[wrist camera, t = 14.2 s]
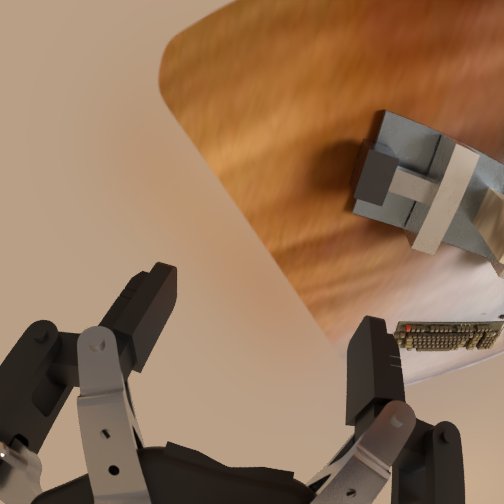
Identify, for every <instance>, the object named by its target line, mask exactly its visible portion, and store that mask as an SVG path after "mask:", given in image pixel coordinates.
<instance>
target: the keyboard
mask: <svg viewBox="0 0 504 504" xmlns="http://www.w3.org/2000/svg"><path fill="white" fill-rule="evenodd" d="M500 318H501V319H503V318H504V315H501V317H500ZM503 328H504V321H493V322H399V323H398V326H397V328H396V331H395V334H394V338H395V340H396V342H397V343H398V345H399V348H400V347H401V348H407V350H408V351H411V349H412V348H416V351H449V350H458V347H466V349H467V350H473V349H474V347H475V346H476V347H477V348H478V350H479V349H484V348H485V349H487V348H488V349H490V348H492V346H493V344H494V343H495V341H496V339H497V338H498V337H499V336H500V333H501V331H502V329H503Z"/></svg>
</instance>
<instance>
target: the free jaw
mask: <svg viewBox="0 0 504 504" xmlns="http://www.w3.org/2000/svg"><path fill="white" fill-rule="evenodd" d="M479 156H480V155H479V154H477V153H476V152H475V151H473V150H472V149H470V148H469V147H468V146H466V145H465V144H463V143H461V142H459V141H457V140H455V139H452V138H450V137H448V136H446V135H444V134H442V136H441V139H440V142H439V145H438V148H437V151H436V153H435V156H434V159H433V162H432V164H431V167H430V169H429V172H428V175H427V176H424V175H422V174H419V173H416V172H414V171H411V170H408V169H406V168H403V167H400V166H398V163H399V160H400V159H399V158H398V157H397V155H396V154H395V153H394V151H393V150H392V149H391V148H390V147H387V146H384V145H382V144H379V143H376V142H373V141H370V140H367V139H364V138H363V141H362V145H361V148H360V151H359V154H358V157H357V161H356V164H355V167H354V170H353V173H352V176H351V179H350V186H351V191H352V195H353V198H355V199H359V200H362V201H365V202H369V203H372V204H375V205H378V206H381V207H382V205H383V203H384V200H385V198H386V195H387V192H388V191H389V192H392V193H395V194H398V195H401V196H404V197H407V198H410V199H413V200H415V201H416V204H415V206H414V208H413V211H412V213H411V215H410V217H409V220H408V222H407V224H406V226H405V228H404V231H405V234H406V236H407V239H408V241H409V244H410V246H411V248H412V249H415V250H419V251H422V252H425V253H428V254H431V255H434V254H435V252H436V250H437V248H438V246H439V244H440V243H441V241H442V239H443V237H444V235H445V233H446V231H447V229H448V227H449V225H450V223H451V221H452V219H453V217H454V215H455V213H456V211H457V208H458V206H459V204H460V202H461V200H462V197H463V195H464V193H465V191H466V188H467V186H468V184H469V181H470V179H471V177H472V174H473V172H474V169H475V167H476V164H477V162H478V159H479Z"/></svg>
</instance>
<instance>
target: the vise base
mask: <svg viewBox="0 0 504 504" xmlns="http://www.w3.org/2000/svg"><path fill="white" fill-rule="evenodd" d="M442 134H444V133H441V132H439V131H437V130H435V129H432V128H430V127H428V126H425V125H423V124H421V123H418V122H416V121H413V120H411V119H408V118H406V117H403V116H401V115H398V114H395V113H393V112H390V111H387V110H384V112H383V115H382V118H381V122H380V125H379V129H378V132H377V135H376V138H375V142H376V143H379V144H382V145H384V146H387V147H390V148H391V149H392V150H393V151H394V153H395V154H396V155H397V157H398V158H399V159H400V160H399V163H398V166H400V167H403V168H406V169H408V170H411V171H414V172H416V173H419V174H422V175H424V176H427V175H428V172H429V169H430V167H431V164H432V162H433V159H434V156H435V153H436V151H437V148H438V145H439V142H440V139H441V136H442ZM444 135H446V134H444ZM446 136H448V135H446ZM448 137H450V136H448ZM450 138H452V137H450ZM452 139H454V138H452ZM455 140H456V139H455ZM457 141H459V140H457ZM459 142H461V141H459ZM461 143H463V142H461ZM463 144H465V143H463ZM465 145H466V146H468V147H469V148H470V149H472V150H473V151H475V152H476V153H477V154H479V155H480V156H479V159H478V162H477V164H476V167H475V169H474V172H473V174H472V177H471V179H470V181H469V184H468V186H467V188H466V191H465V193H464V195H463V197H462V200H461V202H460V204H459V206H458V208H457V211H456V213H455V215H454V217H453V219H452V221H451V223H450V225H449V227H448V229H447V231H446V233H445V235H444V237H443V239H442V242H445V243H448V244H451V245H454V246H456V247H459V248H462V249H465V250H467V251H470V252H473V253H475V254H478V255H481V256H483V257H486V258H488V260H489V261H490V263H491V265H492V266H493V268H494V270H495V271H496V273H497V275H498V276H499V277H500V278H503V279H504V264H503V263H500V262H499V261H498V260H497V258H496V257H495V255H494V254H493V252H492V251H491V249H490V248H489V246H488V245H487V243H486V242H485V240H484V239H483V237H482V236H481V234H480V233H479V232H478V230H477V229H476V227H475V226H474V225H473V223H472V222H473V220H474V218H475V216H476V214H477V212H478V210H479V208H480V206H481V204H482V202H483V199H484V197H485V195H486V193H487V191H488V188H489V187H490V188H492V189H494V190H495V191H497V192H499V193H501V194H503V195H504V164H502V163H500V162H498V161H497V160H495V159H493V158H491V157H490V156H488V155H486V154H484V153H482V152H480V151H478V150H476V149H475V148H473V147H471V146H469V145H467V144H465ZM415 204H416V201H415V200H413V199H410V198H407V197H404V196H401V195H398V194H395V193H392V192H389V191H388V192H387V195H386V198H385V200H384V203H383V205H382V207H381V206H378V205H375V204H372V203H369V202H365V201H362V200H359V199H355V201H354V204H353V207H352V213H354V214H358V215H361V216H364V217H368V218H371V219H374V220H378V221H381V222H384V223H387V224H391V225H394V226H397V227H400V228H403V229H404V228H405V226H406V224H407V222H408V220H409V217H410V215H411V213H412V211H413V208H414V206H415Z"/></svg>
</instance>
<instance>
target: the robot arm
mask: <svg viewBox="0 0 504 504" xmlns="http://www.w3.org/2000/svg"><path fill="white" fill-rule="evenodd" d="M176 298H177V268H176V267H175V266H172V265H168V264H165V263H161V262H157V263H156V264H155V265H154V267H153V268H152V270H151V271H150V273H148V272H144V271H142V272H140V273H138V274H137V275H135V276H134V277H132V278H131V280H130V281H129V283H128V284H127V285H126V287H125V289H124V290H123V291H122V292H121V294H120V296H119V297H118V298H117V299H116V301H115V302H114V303H113V305H112V306H111V308H110V309H109V311H108V312H107V314H106V315H105V316H104V318H103V319H102V321H101V322H100V324H99V325H98V326H94V327H90V328H88V329H86V330H84V331H83V332H82V333H80V334H77V333H66V332H58V330H57V327H56V326H55V324H53V323H52V322H51V321H47V320H40V321H36V322H34V323H33V324H31V325H30V326H29V327H28V328H27V330H26V331H25V332H24V333H23V335H22V336H21V338H20V339H19V340H18V342H17V343H16V344H15V346H14V347H13V348H12V350H11V351H10V353H9V354H8V355H7V357H6V358H5V360H4V361H3V363H2V364H1V366H0V500H1V501H3V502H4V503H5V504H371V503H372V502H373V501H374V499H375V498H376V497H377V495H378V494H379V493H380V491H381V490H382V488H383V487H384V485H385V484H386V482H387V481H388V480H389V477H390V474H391V473H390V472H389V469H390V466H392V493H391V504H465V483H464V468H463V456H462V445H461V438H460V433H459V430H458V429H457V428H456V426H455V425H454V424H452V423H451V422H448V421H443V422H440V423H438V424H437V425H436V426H433V425H430V424H428V423H426V422H423V421H421V420H419V419H417V418H416V416H415V413H414V411H413V409H412V408H411V407H410V406H409V405H408V404H407V403H406V401H405V392H404V383H403V374H402V368H401V359H400V351H399V345H398V343H397V342H396V340H395V338H394V336H393V334H388V333H387V329H386V323H385V320H384V319H381V318H376V317H372V316H365V317H364V318H363V320H362V322H361V323H360V325H359V327H358V328H357V330H356V332H355V333H354V335H353V337H352V338H351V340H350V342H349V345H348V350H347V401H346V425H350V426H355V433H354V434H353V435H351V437H350V438H349V439H348V440H347V442H346V443H345V444H344V445H343V447H342V448H341V449H340V450H339V451H338V452H337V453H336V455H335V456H334V457H333V458H332V459H331V460H330V462H329V463H328V464H327V465H326V466H325V467H324V468H323V469H322V470H321V471H320V472H319V473H317V474H316V475H315V476H314V477H313V478H312V479H311V480H310V481H309V482H308V483H307V484H306V485H305V484H303V483H302V482H300V481H298V480H296V479H294V478H293V476H294V472H290V471H284V470H278V469H272V468H266V467H244V468H243V467H238V468H237V467H236V468H235V467H227V466H225V465H223V464H221V463H219V462H217V461H215V460H213V459H211V458H210V457H208V456H206V455H204V454H203V453H200V452H199V451H196V450H193V449H190V448H186V447H183V446H180V445H177V444H174V443H171V442H167V445H166V447H160V446H159V447H144V443H143V439H142V436H141V433H140V429H139V426H138V423H137V419H136V415H135V411H134V407H133V402H132V397H131V392H130V388H129V383H128V377H129V375H130V373H131V371H132V370H134V371H136V372H139V373H141V371H142V369H143V367H144V365H145V363H146V361H147V359H148V357H149V355H150V353H151V351H152V349H153V347H154V345H155V343H156V341H157V339H158V337H159V336H160V334H161V332H162V330H163V328H164V325H165V324H166V322H167V320H168V318H169V316H170V314H171V313H172V311H173V308H174V306H175V303H176ZM74 386H75V387H80V396H78V397H77V409H78V417H79V424H80V431H81V438H82V443H83V449H84V455H85V460H86V465H87V470H88V473H87V474H85V475H83V476H81V477H78V478H76V479H74V480H72V481H69V482H67V483H65V484H62V485H60V486H58V487H55V488H53V489H50V490H48V491H45V492H43V491H42V489H41V487H40V475H41V472H42V465H41V462H40V459H39V457H38V456H37V454H38V452H39V450H40V448H41V446H42V444H43V442H44V440H45V438H46V436H47V434H48V433H49V431H50V429H51V427H52V425H53V423H54V421H55V419H56V417H57V416H58V414H59V412H60V410H61V408H62V407H63V405H64V403H65V401H66V400H67V398H68V396H69V394H70V392H71V390H72V389H73V387H74Z"/></svg>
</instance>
